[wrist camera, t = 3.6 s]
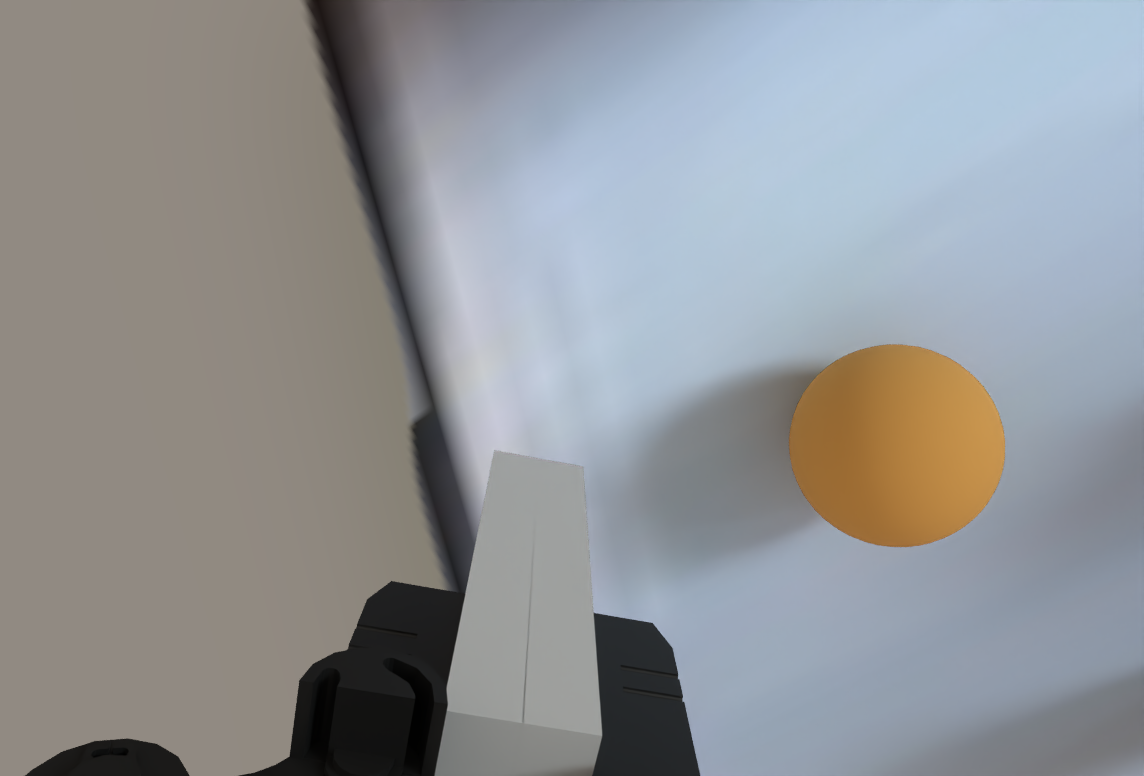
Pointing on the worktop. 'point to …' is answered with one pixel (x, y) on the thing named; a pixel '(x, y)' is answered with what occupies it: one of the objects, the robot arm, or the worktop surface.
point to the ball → (897, 445)
